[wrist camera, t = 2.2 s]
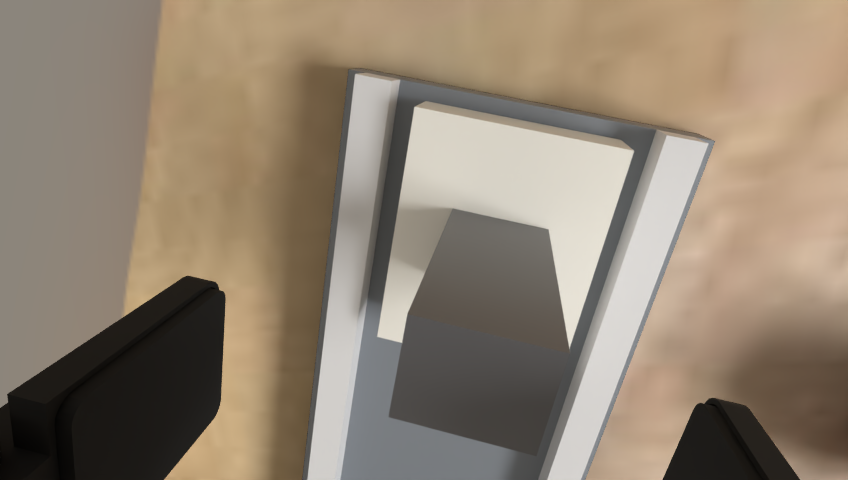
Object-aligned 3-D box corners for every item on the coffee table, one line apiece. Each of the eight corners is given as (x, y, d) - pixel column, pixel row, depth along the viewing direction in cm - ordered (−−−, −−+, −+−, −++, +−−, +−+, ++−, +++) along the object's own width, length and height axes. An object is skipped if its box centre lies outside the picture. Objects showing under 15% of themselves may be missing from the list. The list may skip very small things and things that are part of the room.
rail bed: (361, 68, 19) (336, 70, 16) (699, 134, 17) (729, 147, 15) (307, 507, 27) (286, 554, 24) (536, 573, 25) (538, 629, 23)
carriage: (425, 100, 17) (336, 145, 9) (620, 139, 16) (729, 229, 8) (390, 310, 20) (297, 496, 11) (554, 350, 19) (582, 578, 11)
